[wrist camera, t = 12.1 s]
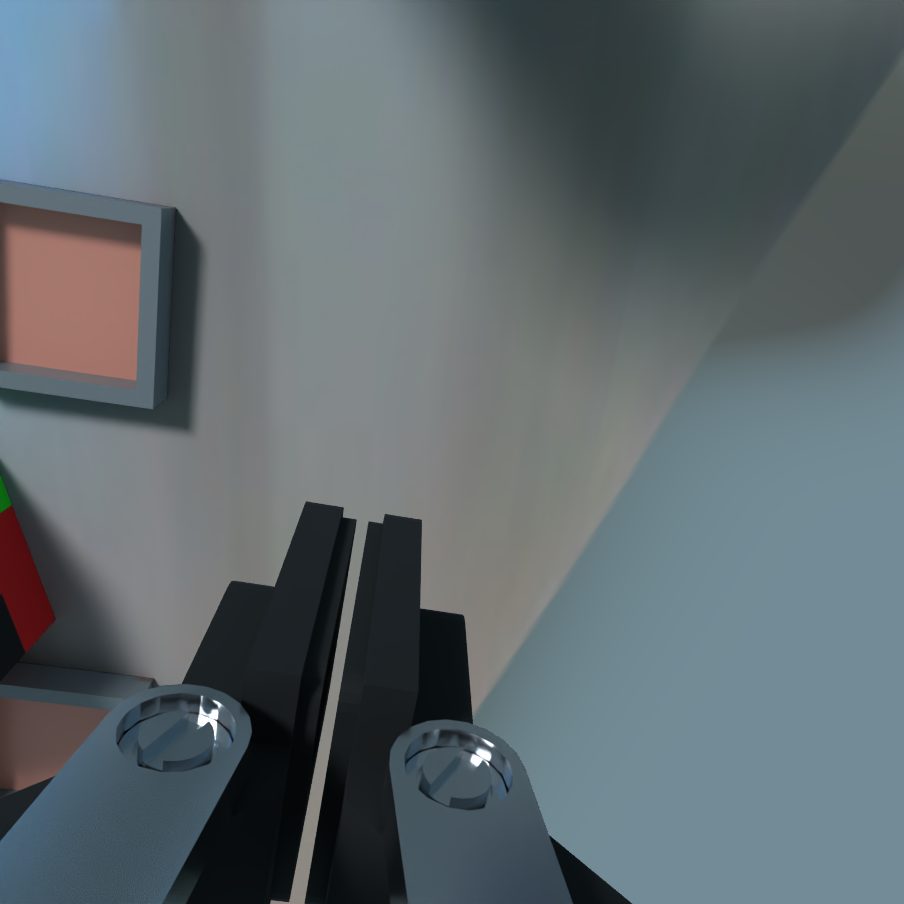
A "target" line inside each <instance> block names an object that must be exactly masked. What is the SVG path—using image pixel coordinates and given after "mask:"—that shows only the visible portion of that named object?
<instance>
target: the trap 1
mask: <svg viewBox="0 0 904 904" xmlns="http://www.w3.org/2000/svg"><path fill="white" fill-rule="evenodd" d="M152 688H153V678H145V677H136V676H128V675H120V674H111V673H103V672H95V671H86V670H78V669H70V668H61V667H53V666H45V665H36V664H28V663H20V662H17V663H16V664H15V665H14V667H13V668H12V669H11V670H10V671H9V672H8V673H7V674H6V676H5V677H4V678H3V679H2V680H1V681H0V798H2V797H5V796H7V795H9V794H12V793H14V792H17V791H19V790H22V789H24V788H27V787H29V786H31V785H34V784H36V783H39V782H41V781H44V780H46V779H49V778H51V777H53V776H56V775H57V773H58V772H59V771H60V770H61V769H62V767H63V766H64V765H65V764H66V763H67V762H68V760H69V759H70V758H71V757H72V756H73V754H74V753H75V752H76V751H77V750H78V749H79V747H80V746H81V745H82V744H83V743H84V741H85V740H86V739H87V738H88V737H89V736H90V734H91V733H92V732H93V731H94V730H95V728H96V727H97V726H98V725H99V724H100V722H101V721H102V720H103V719H104V718H105V717H106V715H107V714H108V713H109V712H110V711H111V710H113V709H114V708H115V707H116V706H117V705H118V704H120V703H121V702H122V701H123V700H125V699H127V698H129V697H131V696H133V695H135V694H137V693H139V692H141V691H144V690H148V689H152Z"/></svg>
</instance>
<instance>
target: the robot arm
mask: <svg viewBox="0 0 904 904" xmlns="http://www.w3.org/2000/svg"><path fill="white" fill-rule="evenodd" d="M343 510H344V508H343V507H337V506H331V505H325V504H319V503H312V502H306V503H305V505H304V508H303V511H302V513H301V516H300V519H299V522H298V524H297V527H296V530H295V533H294V535H293V538H292V541H291V544H290V546H289V549H288V552H287V555H286V557H285V560H284V563H283V566H282V568H281V571H280V574H279V577H278V579H277V582H276V585H275V587H273V586H266V585H259V584H252V583H246V582H239V581H231V583H230V584H229V586H228V588H227V590H226V592H225V594H224V596H223V598H222V600H221V602H220V605H219V607H218V609H217V611H216V613H215V615H214V617H213V619H212V621H211V623H210V626H209V628H208V630H207V632H206V634H205V636H204V638H203V640H202V642H201V644H200V647H199V649H198V651H197V653H196V655H195V657H194V659H193V661H192V663H191V666H190V668H189V670H188V672H187V674H186V676H185V678H184V680H183V682H182V684H178V685H163V686H160V687H156V688H152V689H148V690H144V691H141V692H139V693H137V694H135V695H133V696H131V697H129V698H127V699H125V700H123V701H122V702H121V703H120V704H118V705H117V706H116V707H115V708H114V709H113V710H111V711H110V712H109V713H108V714H107V715H106V717H105V718H104V719H103V720H102V721H101V722H100V724H99V725H98V726H97V727H96V728H95V730H94V731H93V732H92V733H91V734H90V736H89V737H88V738H87V739H86V740H85V741H84V743H83V744H82V745H81V746H80V747H79V749H78V750H77V751H76V752H75V753H74V754H73V756H72V757H71V758H70V759H69V760H68V762H67V763H66V764H65V765H64V766H63V767H62V769H61V770H60V771H59V772H58V773H57V775H56V776H53V777H51V778H49V779H46V780H44V781H41V782H39V783H36V784H34V785H31V786H29V787H27V788H24V789H22V790H19V791H17V792H14V793H12V794H9V795H7V796H5V797H2V798H0V904H270V902H271V900H275V901H283V902H289V900H290V895H291V890H292V884H293V879H294V874H295V869H296V863H297V858H298V853H299V847H300V842H301V837H302V832H303V826H304V821H305V816H306V811H307V805H308V800H309V795H310V789H311V784H312V779H313V774H314V768H315V763H316V758H317V753H318V747H319V742H320V737H321V731H322V726H323V721H324V716H325V710H326V705H327V700H328V694H329V688H330V683H331V677H332V671H333V664H334V658H335V652H336V646H337V640H338V633H339V627H340V621H341V615H342V608H343V602H344V596H345V590H346V584H347V577H348V571H349V565H350V559H351V553H352V546H353V540H354V534H355V528H356V521H357V520H356V519H350V518H343ZM421 538H422V520H419V519H413V518H407V517H400V516H394V515H388V514H385V516H384V521H383V524H381V523H375V522H369V523H368V529H367V534H366V540H365V546H364V552H363V558H362V564H361V570H360V576H359V582H358V588H357V594H356V600H355V605H354V611H353V617H352V623H351V629H350V635H349V641H348V647H347V653H346V659H345V665H344V671H343V677H342V682H341V688H340V694H339V700H338V706H337V712H336V718H335V724H334V730H333V736H332V742H331V748H330V754H329V760H328V766H327V772H326V778H325V784H324V790H323V796H322V802H321V808H320V814H319V820H318V826H317V832H316V838H315V844H314V850H313V856H312V862H311V868H310V874H309V880H308V886H307V892H306V898H305V904H632V903H630V902H629V901H628V900H627V899H626V898H624V897H623V896H622V895H621V894H620V893H618V892H617V891H616V890H615V889H614V888H612V887H611V886H610V885H609V884H608V883H606V882H605V881H604V880H603V879H601V878H600V877H599V876H598V875H597V874H595V873H594V872H593V871H592V870H591V869H589V868H588V867H587V866H586V865H585V864H583V863H582V862H581V861H580V860H579V859H577V858H576V857H575V856H574V855H572V854H571V853H570V852H569V851H568V850H566V849H565V848H564V847H563V846H562V845H560V844H559V843H558V842H556V840H554V839H553V838H552V837H551V836H549V834H548V831H547V829H546V826H545V823H544V820H543V817H542V814H541V811H540V809H539V806H538V803H537V800H536V797H535V794H534V792H533V789H532V786H531V783H530V780H529V777H528V775H527V772H526V769H525V767H524V765H523V763H522V762H521V760H520V758H519V756H518V755H517V753H516V752H515V751H514V750H513V749H512V748H511V747H510V746H509V745H508V744H507V743H506V742H505V741H504V740H503V739H501V738H500V737H498V736H496V735H495V734H493V733H492V732H490V731H488V730H487V729H484V728H481V727H478V726H476V725H473V719H472V706H471V693H470V680H469V667H468V654H467V642H466V629H465V619H464V616H463V615H461V614H454V613H447V612H441V611H434V610H427V609H420V586H421Z"/></svg>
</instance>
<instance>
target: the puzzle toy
mask: <svg viewBox="0 0 904 904" xmlns="http://www.w3.org/2000/svg"><path fill="white" fill-rule="evenodd" d="M55 620H56V619H55V616H54V614H53V611H52V609H51V606H50V603H49V601H48V598H47V595H46V593H45V590H44V588H43V585H42V582H41V580H40V577H39V575H38V572H37V569H36V567H35V564H34V562H33V559H32V556H31V554H30V551H29V548H28V546H27V543H26V541H25V538H24V535H23V533H22V530H21V528H20V525H19V522H18V520H17V517H16V514H15V512H14V509H13V507H12V504H11V501H10V499H9V496H8V494H7V491H6V488H5V486H4V483H3V481H2V478H1V475H0V681H1V680H2V679H3V678H4V677H5V676H6V674H7V673H8V672H9V671H10V670H11V669H12V668H13V667H14V665H15V664H16V663H17V662H18V661H19V660H20V659H21V658H22V657H23V655H24V654H25V653H26V652H27V651H28V650H29V649H30V648H31V646H32V645H33V644H34V643H35V642H36V641H37V640H38V639H39V637H40V636H41V635H42V634H43V633H44V632H45V631H46V630H47V628H48V627H49V626H50V625H51V624H52V623H53V622H54V621H55Z"/></svg>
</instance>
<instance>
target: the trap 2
mask: <svg viewBox="0 0 904 904" xmlns="http://www.w3.org/2000/svg"><path fill="white" fill-rule="evenodd" d="M175 218H176V208H175V207H168V206H162V205H156V204H150V203H144V202H137V201H131V200H125V199H119V198H113V197H106V196H100V195H94V194H88V193H81V192H75V191H69V190H63V189H57V188H50V187H44V186H38V185H32V184H26V183H19V182H13V181H7V180H1V179H0V387H1V388H8V389H15V390H22V391H29V392H36V393H43V394H50V395H57V396H64V397H71V398H78V399H85V400H92V401H99V402H106V403H113V404H120V405H126V406H133V407H140V408H147V409H154V408H155V407H157V406H158V405H159V404H161V403H162V402H163V401H164V400H166V399H167V385H168V364H169V343H170V323H171V302H172V281H173V260H174V239H175Z"/></svg>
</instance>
